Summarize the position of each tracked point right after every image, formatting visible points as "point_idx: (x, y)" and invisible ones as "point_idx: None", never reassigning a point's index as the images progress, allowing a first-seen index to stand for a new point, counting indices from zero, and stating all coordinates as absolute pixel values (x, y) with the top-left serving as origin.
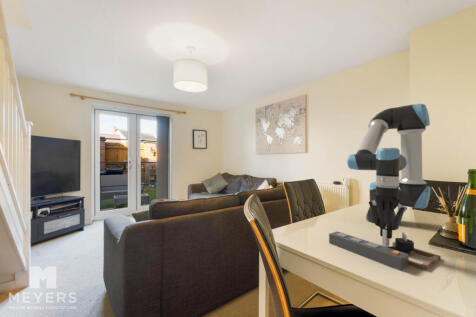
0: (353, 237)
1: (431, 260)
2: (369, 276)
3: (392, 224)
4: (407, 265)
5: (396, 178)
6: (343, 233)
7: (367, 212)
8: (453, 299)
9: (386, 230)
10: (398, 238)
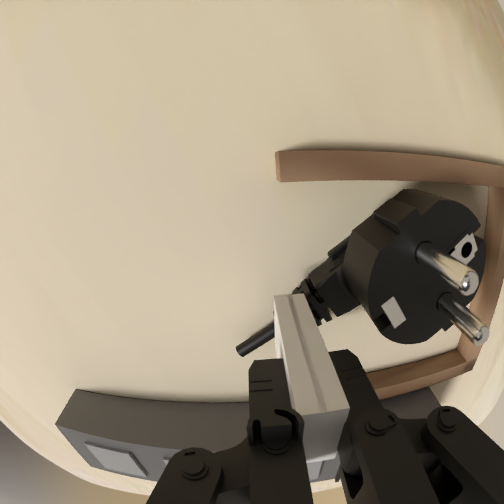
0: (166, 464)
1: (498, 285)
2: (341, 483)
3: (416, 478)
4: None
5: None
6: (88, 436)
7: None
8: (482, 408)
9: (335, 455)
10: (388, 271)
